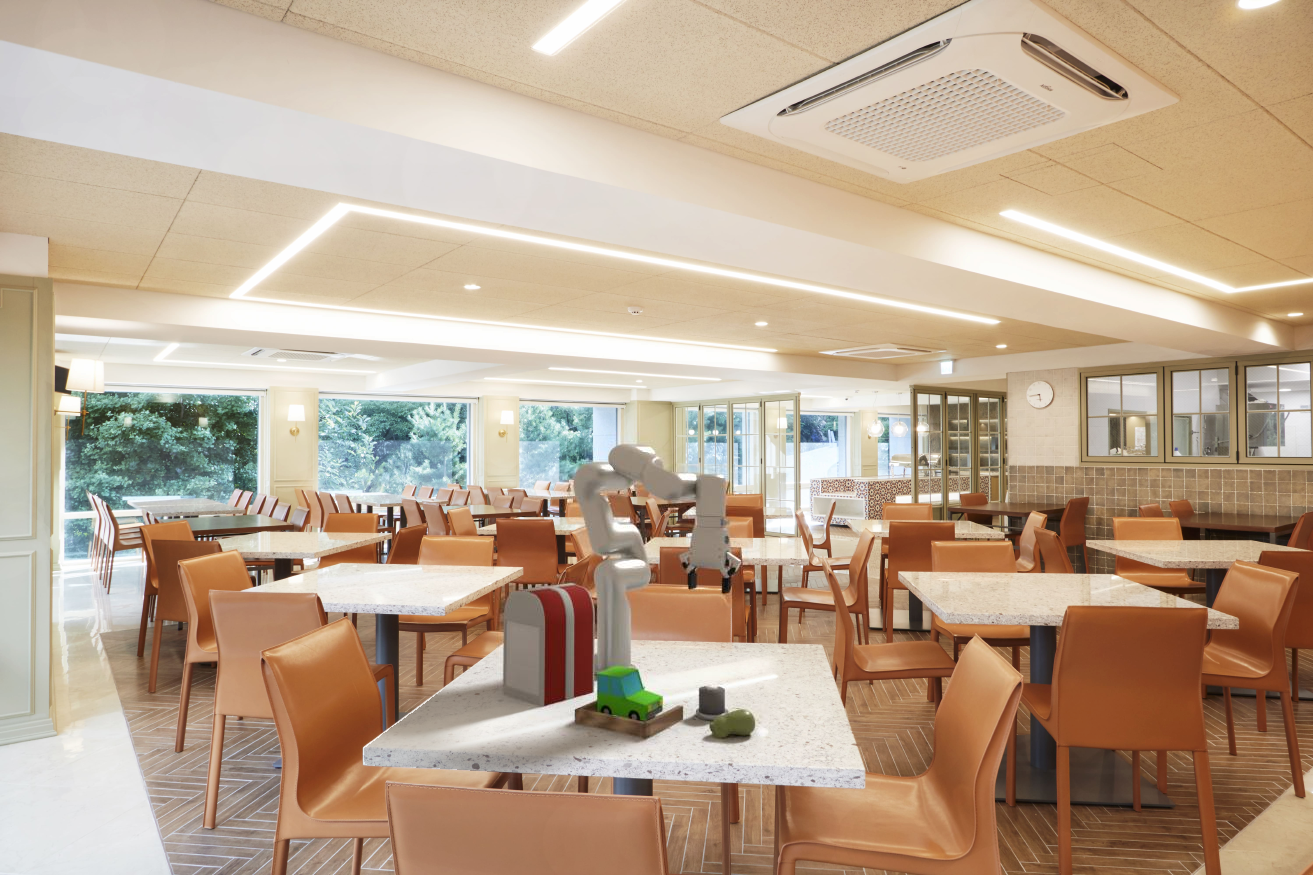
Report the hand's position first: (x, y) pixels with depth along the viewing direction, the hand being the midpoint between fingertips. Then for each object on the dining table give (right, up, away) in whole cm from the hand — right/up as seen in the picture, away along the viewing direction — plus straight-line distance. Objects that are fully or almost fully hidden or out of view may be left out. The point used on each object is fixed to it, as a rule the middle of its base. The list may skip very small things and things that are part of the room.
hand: (708, 590), depth 194 cm
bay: (-19, -26, -19) cm, 37 cm away
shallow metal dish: (0, -26, -16) cm, 30 cm away
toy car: (-19, -26, -16) cm, 36 cm away
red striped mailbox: (-41, -27, +3) cm, 49 cm away
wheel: (0, -25, -15) cm, 29 cm away
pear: (+3, -26, -29) cm, 39 cm away
